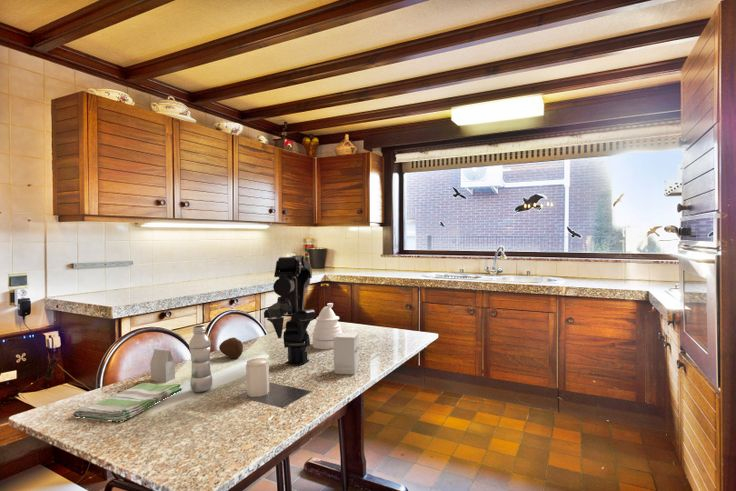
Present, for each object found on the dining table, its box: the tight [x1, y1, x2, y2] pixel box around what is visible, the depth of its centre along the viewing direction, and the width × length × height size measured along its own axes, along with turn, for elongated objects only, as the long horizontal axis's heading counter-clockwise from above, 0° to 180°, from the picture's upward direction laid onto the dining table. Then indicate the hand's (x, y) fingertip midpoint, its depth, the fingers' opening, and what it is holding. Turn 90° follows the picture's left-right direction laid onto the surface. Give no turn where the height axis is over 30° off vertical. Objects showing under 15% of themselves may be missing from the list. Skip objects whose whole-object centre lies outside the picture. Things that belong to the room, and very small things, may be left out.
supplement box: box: [333, 332, 360, 375], centre depth 142 cm, size 7×7×13 cm
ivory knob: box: [245, 357, 270, 397], centre depth 122 cm, size 6×6×10 cm
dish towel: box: [72, 382, 183, 423], centre depth 119 cm, size 17×23×4 cm
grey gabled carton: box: [149, 348, 176, 383], centre depth 138 cm, size 4×7×10 cm, turn 69°
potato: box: [218, 337, 244, 359], centre depth 162 cm, size 7×10×8 cm
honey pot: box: [312, 302, 343, 350], centre depth 176 cm, size 13×13×18 cm
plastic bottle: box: [188, 324, 214, 393], centre depth 127 cm, size 6×7×20 cm
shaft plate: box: [235, 381, 313, 409], centre depth 121 cm, size 18×13×4 cm
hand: (289, 339), depth 140 cm, fingers open, 9 cm apart
